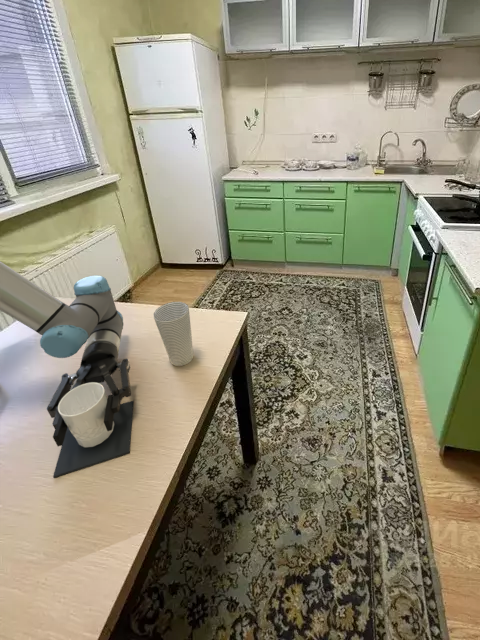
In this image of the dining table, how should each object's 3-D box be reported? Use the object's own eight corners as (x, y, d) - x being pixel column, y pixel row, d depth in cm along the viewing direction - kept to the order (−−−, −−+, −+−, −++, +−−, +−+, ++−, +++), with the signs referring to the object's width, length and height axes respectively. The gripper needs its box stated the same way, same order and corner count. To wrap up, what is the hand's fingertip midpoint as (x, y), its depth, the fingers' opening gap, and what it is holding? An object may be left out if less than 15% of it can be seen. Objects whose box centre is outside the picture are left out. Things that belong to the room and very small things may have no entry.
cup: (175, 345, 92) (165, 300, 85) (203, 349, 90) (194, 302, 83) (159, 367, 84) (146, 319, 78) (189, 372, 83) (178, 323, 76)
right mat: (53, 478, 60) (52, 476, 60) (69, 420, 71) (69, 418, 71) (129, 453, 64) (129, 451, 64) (133, 401, 75) (133, 400, 75)
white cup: (105, 409, 72) (92, 376, 68) (125, 427, 68) (112, 393, 63) (67, 437, 66) (50, 402, 62) (86, 458, 62) (69, 423, 58)
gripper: (148, 354, 84) (146, 428, 65) (58, 376, 78) (26, 466, 59) (142, 331, 81) (137, 402, 62) (47, 352, 75) (9, 439, 56)
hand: (83, 433), depth 60 cm, fingers closed on white cup, 8 cm apart
